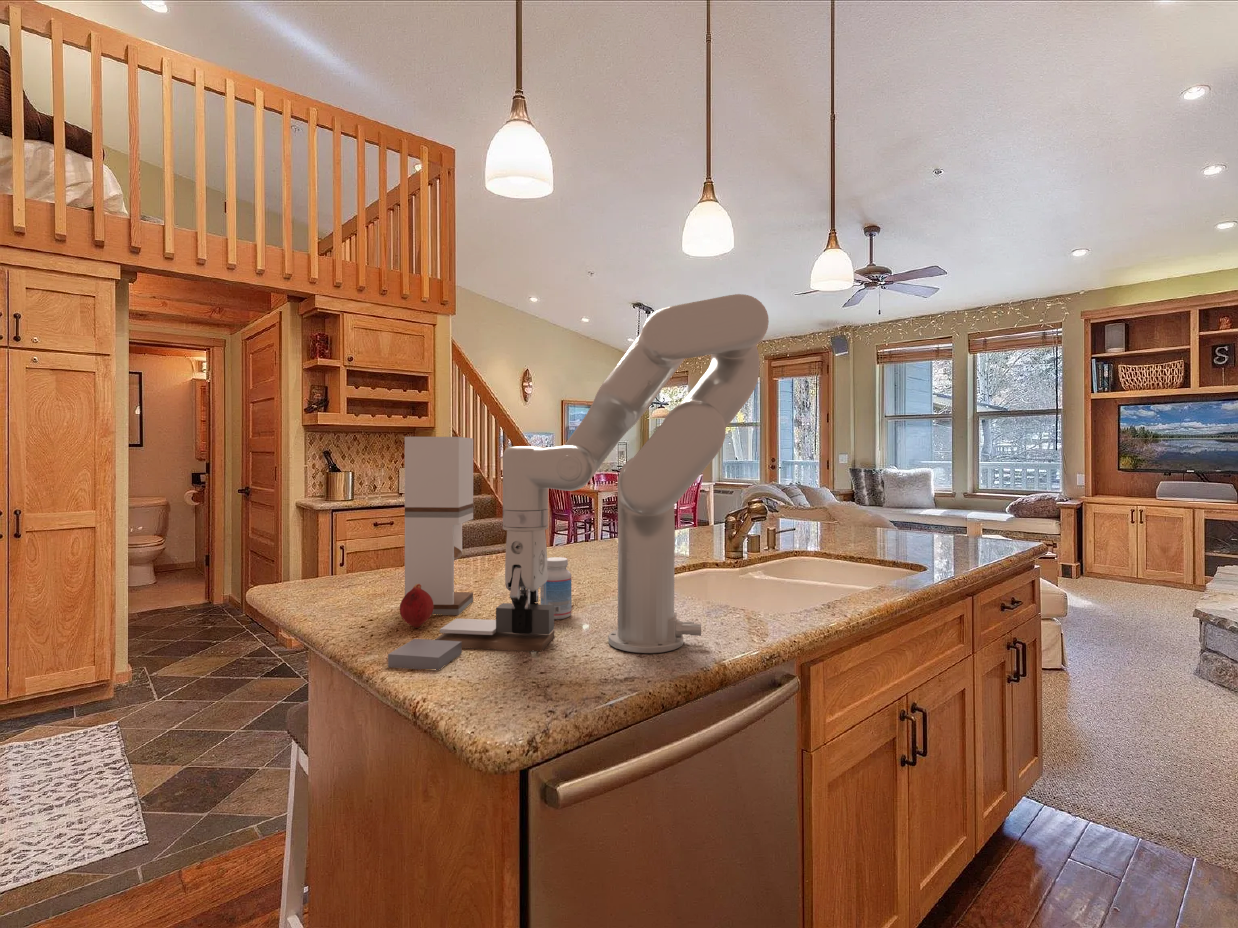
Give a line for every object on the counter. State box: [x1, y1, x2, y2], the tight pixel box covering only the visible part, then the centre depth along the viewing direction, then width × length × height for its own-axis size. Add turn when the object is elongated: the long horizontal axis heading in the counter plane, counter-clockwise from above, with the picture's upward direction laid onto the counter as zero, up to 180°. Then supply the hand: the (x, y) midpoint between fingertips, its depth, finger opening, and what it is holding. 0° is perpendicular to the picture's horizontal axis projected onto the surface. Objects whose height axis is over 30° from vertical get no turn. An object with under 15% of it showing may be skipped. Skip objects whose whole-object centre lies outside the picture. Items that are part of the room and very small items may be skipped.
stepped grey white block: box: [439, 602, 555, 635], centre depth 107 cm, size 18×7×4 cm, turn 82°
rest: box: [434, 629, 555, 653], centre depth 107 cm, size 18×8×1 cm, turn 82°
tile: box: [387, 638, 463, 671], centre depth 97 cm, size 8×2×8 cm
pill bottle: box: [539, 556, 573, 620], centre depth 124 cm, size 6×6×11 cm
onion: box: [399, 583, 434, 629], centre depth 115 cm, size 6×6×8 cm
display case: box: [404, 436, 474, 616], centre depth 130 cm, size 11×11×35 cm
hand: (525, 628), depth 106 cm, fingers closed on stepped grey white block, 3 cm apart
